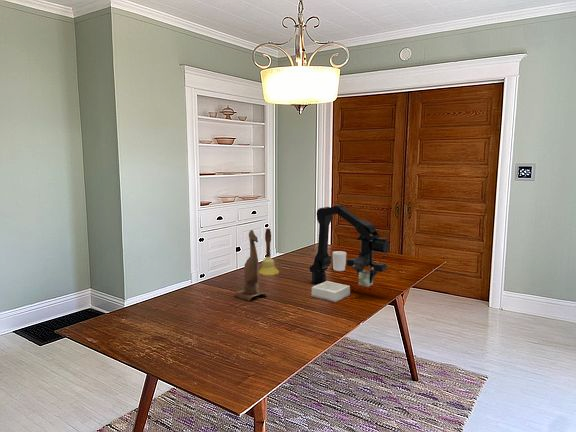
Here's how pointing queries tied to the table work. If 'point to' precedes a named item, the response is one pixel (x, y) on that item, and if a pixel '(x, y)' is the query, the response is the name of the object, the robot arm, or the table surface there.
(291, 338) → the table surface
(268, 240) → the handbell
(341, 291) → the bin
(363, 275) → the mint block
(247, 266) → the bird sculpture
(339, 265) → the white cup
